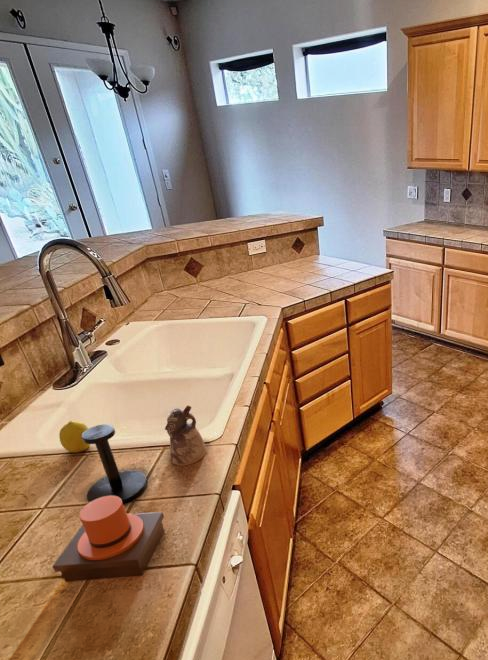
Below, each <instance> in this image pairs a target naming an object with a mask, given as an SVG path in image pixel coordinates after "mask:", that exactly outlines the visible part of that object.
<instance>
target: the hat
mask: <svg viewBox="0 0 488 660" xmlns="http://www.w3.org/2000/svg"><path fill="white" fill-rule="evenodd" d="M133 514H134V513H127V511H126V508H125V505H123V502H122V500H121V498H119V497H117V496H104V497H101V498H98V499H95V500H93V501H91V502H88V503H87V504H85V505H84V506H83V507H82V509H80V511H79V515H78V516H79V517H78V518H79V520H80V522H81V525H83V527H84V529H85V533H84V534H83V535H82V536H81V538H80V539H79V542H78V545H77V549H78V552H79V554H80V555H81V556H82V557H83V558H85V559H88V560H103V559H107V558H110V557H113V556H116V555H118V554H120V553H122V552H124V551H125V550H127V549H129V548H130V547H131V546H132V545H134V544H135V543H136V542H137V541H138V539H139V538H140V537H141V535H142V533H143V530H144V524H143V521H142V519H141V518H140V517H138V516H136V515H133Z"/></svg>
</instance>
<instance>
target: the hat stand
mask: <svg viewBox="0 0 488 660" xmlns="http://www.w3.org/2000/svg"><path fill="white" fill-rule="evenodd" d="M88 428H89V429H87V430H86V431H84V432H83V434H82V439H83V442H84V443H86V444H90V445H95V448H96V450H97V453H98V457H99V458H100V462H101V464H102V467H103V470H104V473H105V475H106V476H104V477H102V478H101V479H99V480H98V481H96V482H95V483H93V485H91V487H90V488H88V490H87V493H86V500H87V501H88V503H90V502H91V501H93V500H95V499H98V498H101V497H104V496H117V497H119V498H121V500H122V502H123V505H124V506H126V505H128V504H130V503H132V502H134V501H135V500H137V499H138V498H139V497H141V496H142V495H143V494H144V492H145V491H146V490H147V488H148V483H149V482H148V479H147V476H146V475H145V473H144V472H142V471H141V470H135V469H133V470H132V469H127V470H121V471H119V468H118V465H117V462H116V460H115V457H114V454H113V451H112V448H111V445H110V442H109V440H111V438H113V437H114V436H115V434H116V428H115V426H114V425H112V424H109V423H108V424H98V425H95V426H92V427H88Z"/></svg>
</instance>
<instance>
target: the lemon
mask: <svg viewBox="0 0 488 660" xmlns="http://www.w3.org/2000/svg"><path fill="white" fill-rule="evenodd" d="M89 428H90V427H89V426H88V425H86V424H85V423H83V422H81V421H77V420H75V421H72V420H71V421H70V420H69V421H68V422H67V423H65V424H64V425H63V426H61V428H60V430H59V435H58V437H59V442H60V444H61V446H62V447H63V448H64V450H66V451H67V452H70V453H81V452H84V451H85V450H87V449H88V448H90V446H91V444H86V443H84V442H83V439H82V434H83V432H84V431H86V430H87V429H89Z"/></svg>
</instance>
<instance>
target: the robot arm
mask: <svg viewBox="0 0 488 660" xmlns="http://www.w3.org/2000/svg"><path fill="white" fill-rule="evenodd" d="M3 366H5V361H4V359H3V357H2V354H1V353H0V367H3Z"/></svg>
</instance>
